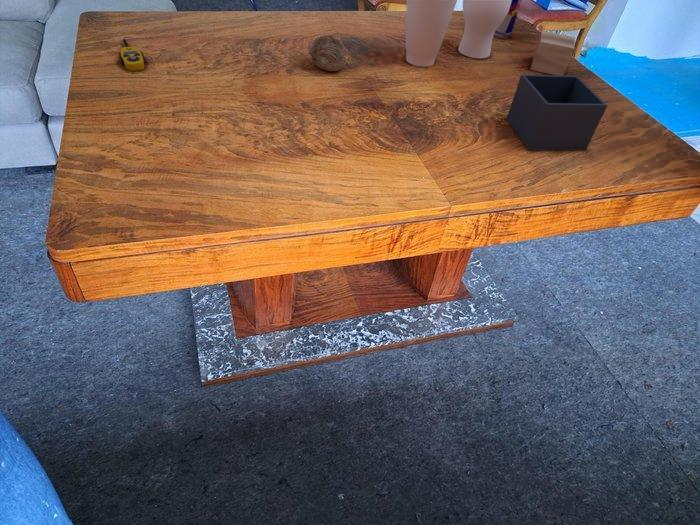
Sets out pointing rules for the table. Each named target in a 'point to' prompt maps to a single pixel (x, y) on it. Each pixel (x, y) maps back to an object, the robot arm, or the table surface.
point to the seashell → (327, 53)
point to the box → (555, 112)
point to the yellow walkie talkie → (132, 58)
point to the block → (552, 53)
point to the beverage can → (508, 21)
